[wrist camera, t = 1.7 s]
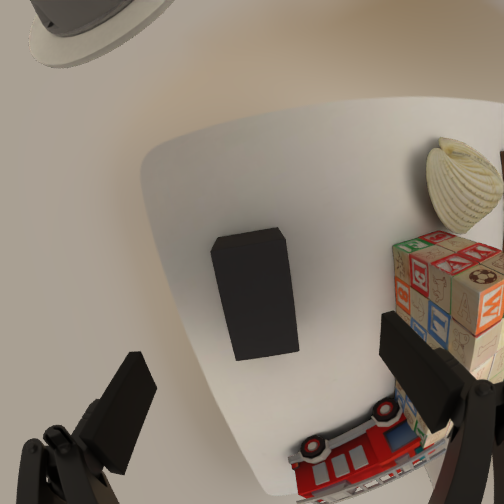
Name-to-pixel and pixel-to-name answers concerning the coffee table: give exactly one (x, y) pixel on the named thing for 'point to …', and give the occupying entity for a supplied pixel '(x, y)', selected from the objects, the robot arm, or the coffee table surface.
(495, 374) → the stack of blocks
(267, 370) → the coffee table surface
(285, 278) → the black block
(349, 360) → the coffee table surface
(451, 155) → the seashell
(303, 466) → the toy fire truck
